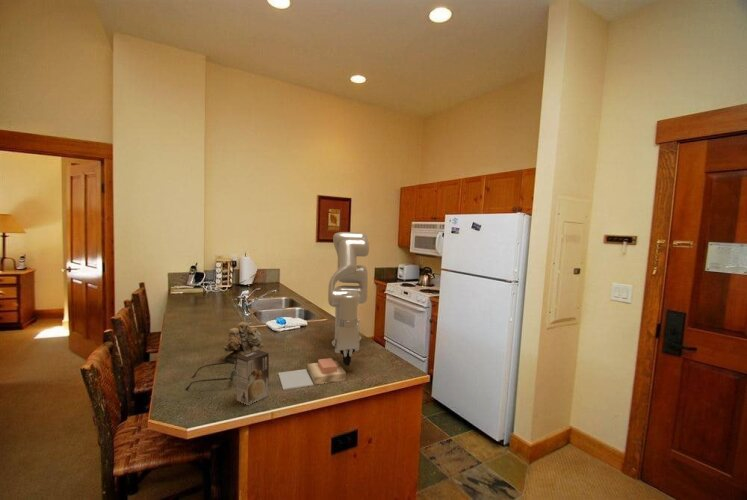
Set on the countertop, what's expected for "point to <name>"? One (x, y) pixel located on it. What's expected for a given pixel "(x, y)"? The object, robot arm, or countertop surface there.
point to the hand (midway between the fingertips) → (346, 364)
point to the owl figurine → (242, 341)
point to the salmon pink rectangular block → (327, 365)
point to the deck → (325, 374)
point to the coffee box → (252, 377)
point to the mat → (295, 379)
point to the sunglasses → (219, 378)
